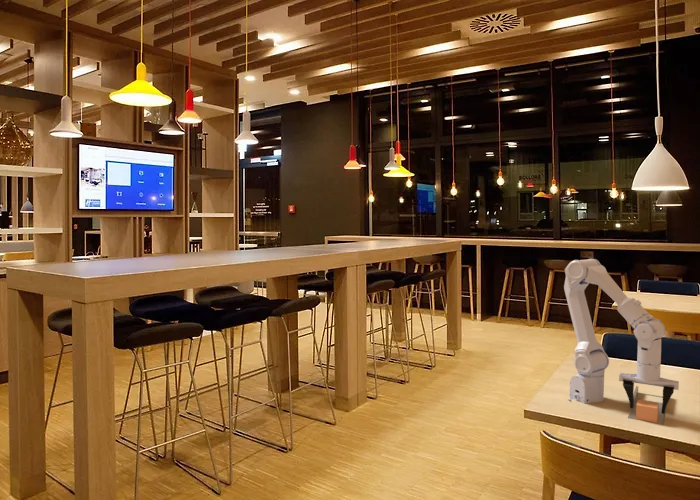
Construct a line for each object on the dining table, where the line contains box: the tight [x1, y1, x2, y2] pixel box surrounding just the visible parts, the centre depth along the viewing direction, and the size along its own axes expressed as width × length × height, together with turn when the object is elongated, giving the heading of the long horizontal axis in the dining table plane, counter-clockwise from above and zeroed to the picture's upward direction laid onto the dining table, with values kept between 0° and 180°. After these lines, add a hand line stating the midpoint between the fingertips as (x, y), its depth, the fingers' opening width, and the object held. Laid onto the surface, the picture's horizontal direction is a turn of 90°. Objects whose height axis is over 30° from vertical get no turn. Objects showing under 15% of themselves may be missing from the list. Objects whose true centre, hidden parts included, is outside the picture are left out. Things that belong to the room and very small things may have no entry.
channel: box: [627, 385, 667, 425], centre depth 153 cm, size 25×9×3 cm, turn 147°
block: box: [636, 398, 658, 424], centre depth 145 cm, size 5×5×4 cm
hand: (647, 409), depth 147 cm, fingers open, 7 cm apart
